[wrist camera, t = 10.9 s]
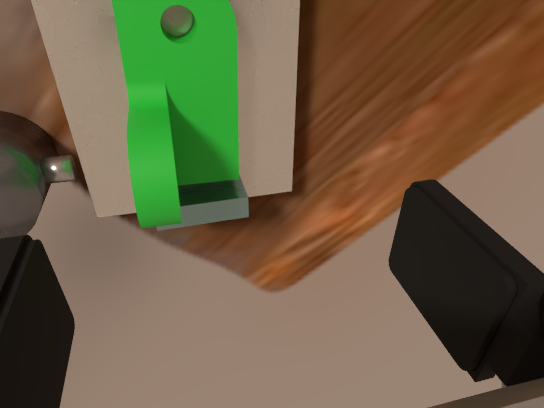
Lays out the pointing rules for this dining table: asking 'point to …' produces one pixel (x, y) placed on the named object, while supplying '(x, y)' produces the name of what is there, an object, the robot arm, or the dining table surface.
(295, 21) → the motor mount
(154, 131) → the mechanical part
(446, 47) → the dining table surface
